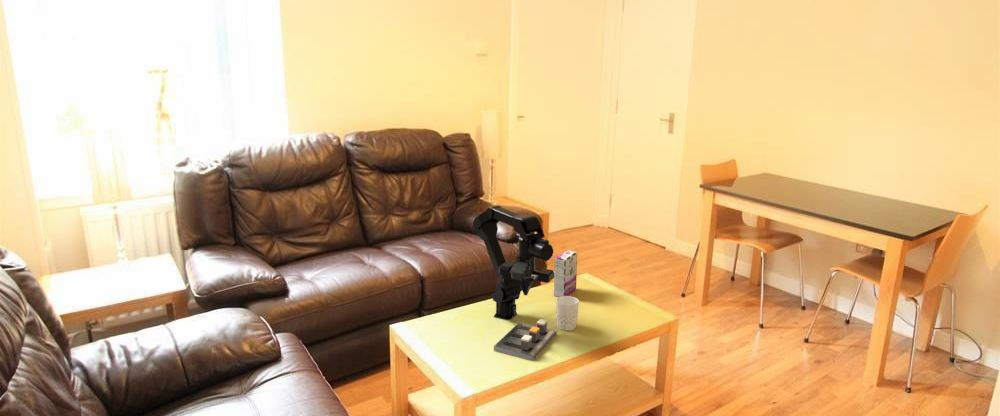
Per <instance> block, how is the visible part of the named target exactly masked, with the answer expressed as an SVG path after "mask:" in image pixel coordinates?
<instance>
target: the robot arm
mask: <svg viewBox="0 0 1000 416" xmlns="http://www.w3.org/2000/svg"><path fill="white" fill-rule="evenodd" d="M499 222H501V223H503V224H504V225H505V224H506V225H508V226H510V227H512V228H513V231H514V232H516V234H515V235H514V238H517V239H518V251H517V252H518V255H517V256H516V259H515V263H514V262H509V261H507V260H506V258H505V255H504V253H503V250H502V247H501V245H500V242H499V239H498V237H497V235H498V230H499V229H498V228H499V227H498V223H499ZM472 228H473V229H474V231H475V234H476V235H477V236H478V238H480V239H481V240H482V241H483V242H484V245H485V248H486V250H487V254H488V256H489V258H490V262H491V264H492V267H493V269H494V272H495V275H496V282H495V289H496V290H495V291H494V292H493V293H492V294H491V297H492V298H491V299H492V301H493V302H494V303H495V305H496V306H495V307H496V308H495V314H494V315H493V317H494V318H499V319H503V320H506V321H507V320H508V321H510V320H511V321H512V319H513V318H514V317H515V316H516V315H517V314H518V313H517V304H516V300H519V299H520V295H521V293H523V296H528V294H529V292H530V290H531V287H532V286H533V283H534V282H535V281H536V280H538V281H539V282H540V283H547V284H548V283H550V282H552V280H553V279H554V278H555V271H554V270H553V269H548V268H542V269H541V270H540V271H539V270H536V268H537V265H536V258H537V259H538V260H541V261H543V262H547V261H549V260H551V258H552V257H553V254H554V248H553V246H552V245H551V244H550V241H549V240H548V239H544V238H545V237H546V236H545V234H544V230H543V228H542V226H541V223H540V221H539V220H538V217H536V216H535V215H530V214H519V213H516V212H514V211H511V210H509V209H506V208H504V207H502V206H500V205H494V206H490V207H489V206H488V208H486V210H485V211H483V212H481V213H480V214H479V215H477V216H476V217H475V218H474V220H473V221H472Z"/></svg>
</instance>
